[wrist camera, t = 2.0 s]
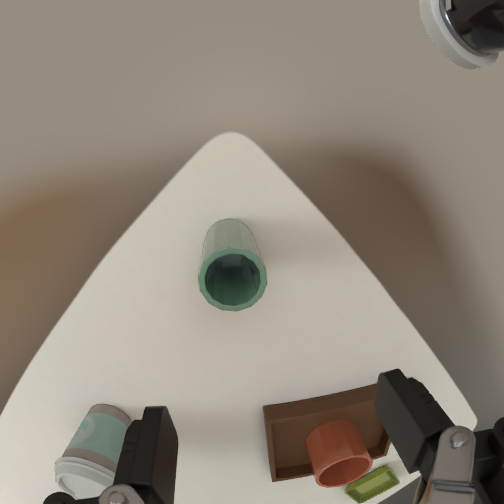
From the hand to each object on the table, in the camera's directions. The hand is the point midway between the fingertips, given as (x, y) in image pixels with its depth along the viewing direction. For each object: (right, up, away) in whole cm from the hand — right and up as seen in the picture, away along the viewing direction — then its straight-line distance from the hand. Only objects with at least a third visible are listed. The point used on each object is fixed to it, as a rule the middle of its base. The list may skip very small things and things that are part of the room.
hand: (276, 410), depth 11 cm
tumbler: (+10, -19, +27) cm, 34 cm away
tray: (+10, -18, +26) cm, 33 cm away
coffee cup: (-19, -15, +23) cm, 33 cm away
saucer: (+20, -35, +33) cm, 52 cm away
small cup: (-3, +7, +18) cm, 19 cm away
